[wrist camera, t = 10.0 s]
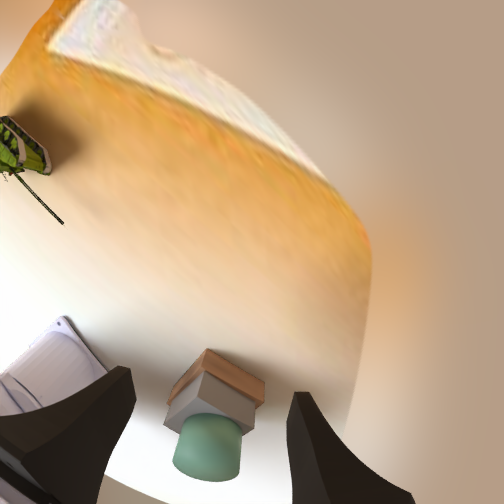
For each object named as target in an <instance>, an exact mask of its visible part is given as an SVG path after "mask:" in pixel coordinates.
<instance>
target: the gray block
mask: <svg viewBox="0 0 504 504" xmlns="http://www.w3.org/2000/svg"><path fill="white" fill-rule="evenodd" d="M198 413H212V414H218V415H222V416H224V417H227V418H229V419H231V420H233V421H234V422H235V423H237V424H238V425H239V426H240V428H241V430H242V436H243V435H245V434H247V433H248V432H250V431H251V430H253V429H254V423H255V401H253V400H251V399H250V398H248V397H246V396H244V395H243V394H241V393H239V392H238V391H236V390H234V389H233V388H231V387H229V386H228V385H226V384H225V383H223V382H221V381H220V380H218V379H217V378H215V377H214V376H212V375H211V374H209V373H207V372H206V371H203V372H202V373H201V374H200V375H199V376H198V377H197V378H196V379H195V380H194V381H193V382H192V383H191V384H190V385H189V386H188V387H186V388H185V389H184V390H183V391H182V392H181V393H180V394H179V395H178V396H177V397H176V398H174V399H173V400H172V403H171V405H170V408H169V410H168V413H167V416H166V418H165V421H164V424H163V425H164V426H166V427H168V428H169V429H171V430H173V431H175V432H176V433H178V434H180V433H181V430H182V426H183V423H184V421H185V419H186V418H188V417H189V416H191V415H194V414H198Z"/></svg>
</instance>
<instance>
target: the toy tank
mask: <svg viewBox="0 0 504 504" xmlns="http://www.w3.org/2000/svg"><path fill="white" fill-rule="evenodd" d="M16 127H17V128H16ZM29 137H30V138H29ZM31 139H32V140H31ZM37 145H38V146H37ZM39 146H40V147H39ZM44 158H45V159H46V161H45V159H44ZM42 159H43V160H42ZM23 168H25V169H29V170H34V171H37V172H38V173H40V174H42V175H47V174H48V176H49V175H50V171H51V169H52V164H51V161H50V158H49V155H48V152H47V149H45V148H44V147H43V146H42V145H41V144H40V143H38V142H37V141H36V140H35V139H34V138H33V137H31V136H30V135H29V134H28V133H27V132H26V131H25V130H24V129H23V128H22V127H21V126H19V125H18V124H17V123H16V122H15V121H14V120H13V119H12V118H11V117H9V116H2V117H0V171H1V172H0V173H3V172H4V171H6V172H9V175H10V176H11V175H12V174H14V175H15V176H16V175H17V176H16V177H17V179H18V180H19V181H20V182H21V183H22V184H23V185H24V186H25V185H26V186H27V187H28V188H30V187H29V186H28V185H27V184H26V183H25V182H24V180H23V179H22V178H21V177H20V176H19V175H18V174H17V173H20V172H25V170H24V169H23ZM2 171H3V172H2ZM4 175H6V174H3V176H4ZM5 179H6V177H5ZM5 181H6V180H5ZM22 181H23V182H24V183H23V182H22ZM7 182H8V181H7ZM26 186H25V187H26ZM27 187H26V188H27ZM28 188H27V189H28ZM30 189H31V188H30ZM28 190H29V189H28ZM29 191H30V192H31V194H32V195H33V196H34V197H35V198H36V199H37V200H38V201H39V202H40V201H41V202H42V203H43V204H44V205H45V206H46V207H47V208H48V209H49V210H50V211H51V212H52V213H53V214H54V215H55V216H56V217H57V218H58V219H57V218H56V217H55V216H54V215H53V214H52V213H51V212H50V211H49V210H48V209H47V208H46V207H45V206H44V205H43V204H42V203H41V202H40V203H41V204H42V205H43V206H44V207H45V208H46V209H47V210H48V211H49V212H50V213H51V214H52V215H53V216H54V217H55V218H56V219H57V220H58V221H59V222H60V223H61V224H62V225H63V224H64V222H63V221H62V220H61V219H60V218H59V217H58V216H57V215H56V214H55V213H54V212H53V211H52V210H51V209H50V208H49V207H48V206H47V205H46V204H45V203H44V202H43V201H42V200H41V199H40V198H39V197H38V196H37V195H36V194H35V193H34V192H33V191H32V190H29ZM32 192H33V193H34V194H35V195H34V194H33V193H32Z"/></svg>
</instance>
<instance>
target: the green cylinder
mask: <svg viewBox="0 0 504 504" xmlns="http://www.w3.org/2000/svg"><path fill="white" fill-rule="evenodd" d="M241 444H242V430H241V428H240V426H239V425H238V424H237V423H235V422H234V421H233V420H231V419H229V418H227V417H224V416H222V415H218V414H212V413H198V414H194V415H191V416H189V417H188V418H186V419H185V421H184V423H183V426H182V430H181V433H180V436H179V440H178V443H177V446H176V450H175V453H174V457H173V464H174V466H175V467H176V468H177V469H178V470H179V471H181V472H182V473H184V474H186V475H188V476H190V477H192V478H195V479H199V480H203V481H210V482H222V481H228V480H231V479H233V478H235V477H236V476H238V474H239V469H240V456H241Z"/></svg>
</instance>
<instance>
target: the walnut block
mask: <svg viewBox="0 0 504 504" xmlns="http://www.w3.org/2000/svg"><path fill="white" fill-rule="evenodd" d="M203 371H206V372H207V373H209V374H211V375H212V376H214V377H215V378H217V379H218V380H220V381H221V382H223V383H225V384H226V385H228V386H229V387H231V388H233V389H234V390H236V391H238V392H239V393H241V394H243V395H244V396H246V397H248V398H250V399H251V400H253V401H255V409H257V408H258V407H259V406H260V405H261V404H263V403H264V382H263V381H261V380H259V379H257V378H256V377H254V376H252V375H250V374H249V373H247V372H245V371H243V370H242V369H240V368H238V367H237V366H235V365H233V364H232V363H230V362H228V361H227V360H225V359H223V358H222V357H220V356H218V355H217V354H215V353H214V352H212V351H211V350H209V349H207V348H206V350H205V351H204V352H203V353H202V354H201V355H200V357H199V358H198V359H197V360H196V361H195V362H194V364H193V365H192V366H191V367H190V368H189V369H188V370H187V372H186V373H185V374H184V375H183V376H182V377H181V379H180V380H179V381H178V382H177V383H176V384H175V385H174V387H173V389H172V392H171V394H170V397H169V399H168V402H167V404H168V405H169V406H170V405H171V403H172V400H173V399H174V398H176V397H177V396H178V395H179V394H180V393H181V392H182V391H183V390H184V389H185V388H186V387H188V386H189V385H190V384H191V383H192V382H193V381H194V380H195V379H196V378H197V377H198V376H199V375H200V374H201V373H202V372H203Z"/></svg>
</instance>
